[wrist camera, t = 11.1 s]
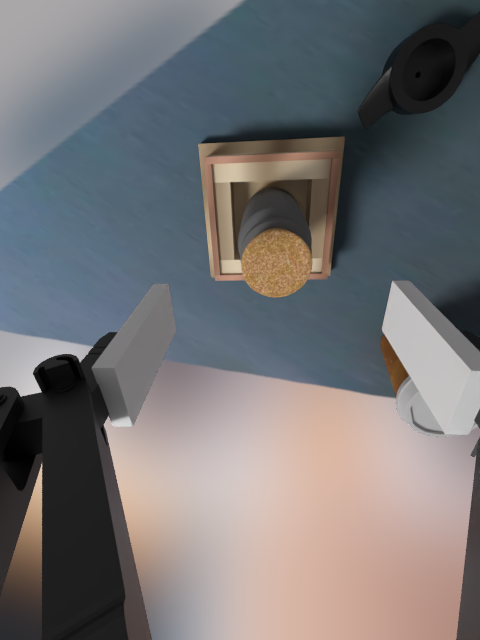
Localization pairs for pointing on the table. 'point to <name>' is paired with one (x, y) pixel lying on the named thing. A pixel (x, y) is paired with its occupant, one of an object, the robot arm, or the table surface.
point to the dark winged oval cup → (423, 71)
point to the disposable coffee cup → (410, 396)
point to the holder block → (263, 172)
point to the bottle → (274, 244)
